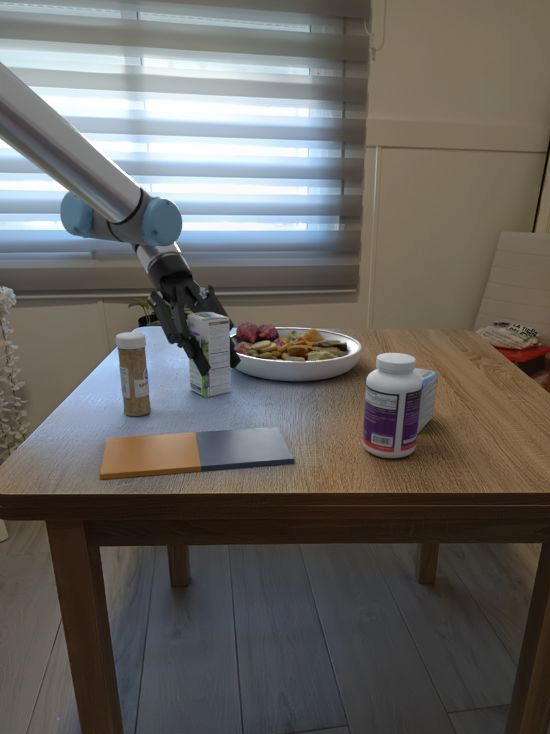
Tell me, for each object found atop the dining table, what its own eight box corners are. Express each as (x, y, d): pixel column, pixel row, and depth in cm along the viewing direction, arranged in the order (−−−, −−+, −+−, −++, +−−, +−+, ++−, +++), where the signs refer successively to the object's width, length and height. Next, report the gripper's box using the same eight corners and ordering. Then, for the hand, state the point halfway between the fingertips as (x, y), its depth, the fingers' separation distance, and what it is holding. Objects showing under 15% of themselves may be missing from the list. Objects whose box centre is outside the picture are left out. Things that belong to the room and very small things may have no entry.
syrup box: (189, 390, 109) (184, 314, 103) (215, 384, 112) (213, 310, 107) (205, 398, 105) (201, 319, 99) (232, 392, 108) (230, 315, 103)
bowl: (380, 359, 133) (383, 326, 130) (321, 396, 108) (322, 355, 105) (270, 341, 145) (270, 310, 142) (194, 370, 120) (192, 333, 117)
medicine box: (408, 414, 101) (413, 366, 98) (433, 419, 99) (439, 371, 96) (392, 428, 95) (397, 378, 91) (418, 434, 93) (424, 383, 89)
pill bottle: (404, 437, 91) (413, 349, 86) (423, 459, 84) (434, 364, 79) (355, 440, 90) (361, 350, 84) (370, 462, 82) (377, 366, 77)
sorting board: (100, 479, 75) (99, 474, 75) (107, 442, 86) (106, 437, 85) (294, 463, 81) (294, 458, 81) (278, 430, 92) (278, 426, 92)
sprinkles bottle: (151, 416, 96) (144, 337, 91) (122, 418, 95) (114, 338, 90) (151, 406, 100) (145, 330, 95) (123, 408, 99) (116, 331, 94)
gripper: (199, 274, 117) (252, 369, 113) (112, 282, 104) (169, 389, 100) (214, 250, 112) (270, 348, 108) (125, 255, 99) (185, 367, 95)
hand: (221, 368), depth 104 cm, fingers closed on syrup box, 6 cm apart
